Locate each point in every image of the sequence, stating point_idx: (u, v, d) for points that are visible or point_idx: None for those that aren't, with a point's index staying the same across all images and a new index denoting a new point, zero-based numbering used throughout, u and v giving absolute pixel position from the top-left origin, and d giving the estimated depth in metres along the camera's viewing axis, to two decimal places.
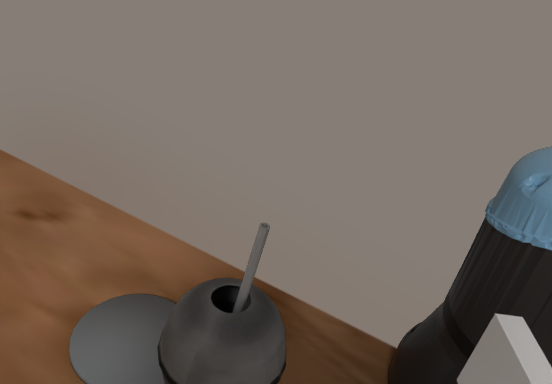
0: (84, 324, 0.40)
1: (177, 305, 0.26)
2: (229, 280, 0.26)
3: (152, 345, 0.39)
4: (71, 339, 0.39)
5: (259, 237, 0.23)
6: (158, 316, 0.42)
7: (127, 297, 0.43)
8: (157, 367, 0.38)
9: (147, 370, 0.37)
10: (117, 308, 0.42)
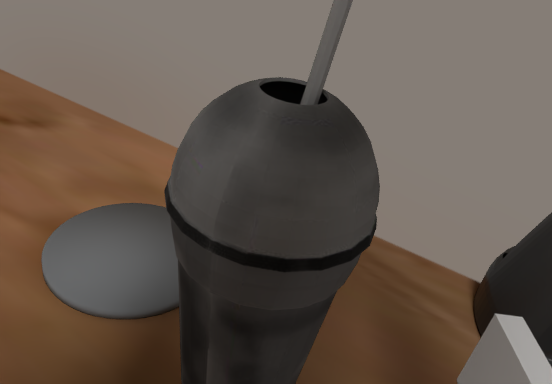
0: (65, 232, 0.30)
1: (199, 113, 0.15)
2: None
3: (156, 260, 0.29)
4: (45, 247, 0.28)
5: None
6: (165, 228, 0.32)
7: (124, 205, 0.33)
8: (162, 285, 0.27)
9: (149, 287, 0.27)
10: (110, 217, 0.32)
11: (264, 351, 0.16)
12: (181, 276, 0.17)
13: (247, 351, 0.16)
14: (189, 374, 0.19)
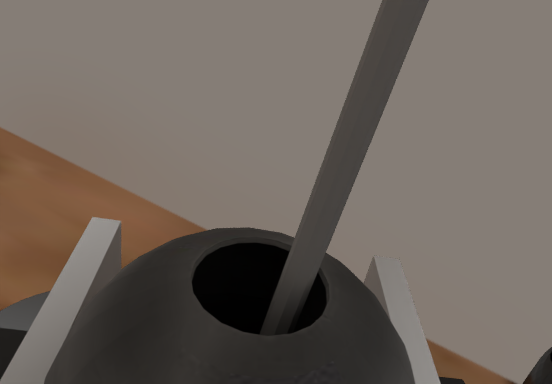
0: None
1: (89, 304, 0.08)
2: (252, 231, 0.09)
3: None
4: None
5: (391, 21, 0.06)
6: None
7: None
8: None
9: None
10: None
11: None
12: None
13: None
14: None
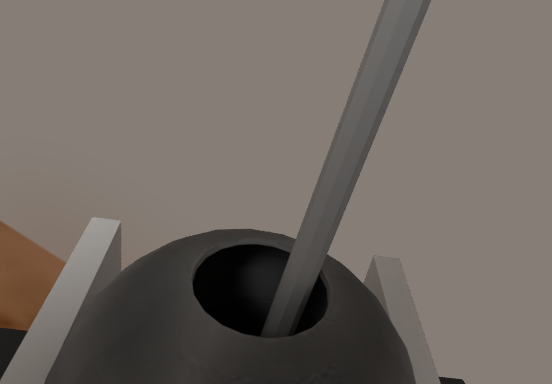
0: None
1: (89, 306, 0.08)
2: (253, 232, 0.09)
3: None
4: None
5: (394, 23, 0.06)
6: None
7: None
8: None
9: None
10: None
11: None
12: None
13: None
14: None
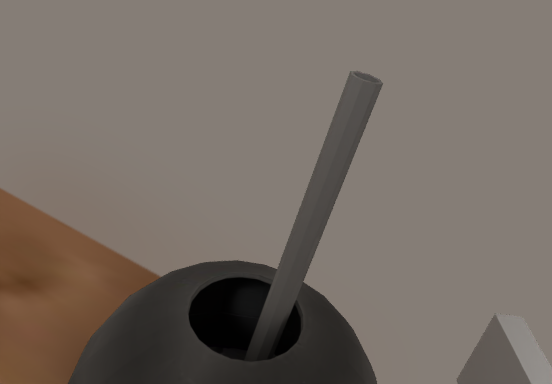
0: None
1: (100, 330, 0.10)
2: (239, 265, 0.10)
3: None
4: None
5: (347, 116, 0.07)
6: None
7: None
8: None
9: None
10: None
11: None
12: None
13: None
14: None
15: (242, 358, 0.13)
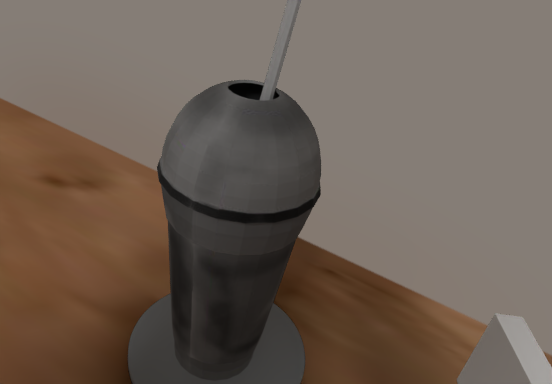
0: (146, 326, 0.28)
1: (183, 107, 0.20)
2: None
3: None
4: (130, 347, 0.26)
5: None
6: None
7: None
8: None
9: None
10: None
11: (235, 291, 0.21)
12: (170, 234, 0.21)
13: (222, 291, 0.21)
14: (178, 316, 0.24)
15: None
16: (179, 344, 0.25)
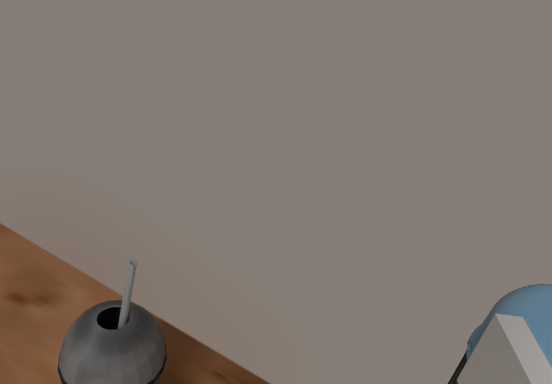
0: None
1: (73, 322, 0.33)
2: (117, 302, 0.33)
3: None
4: None
5: (129, 271, 0.30)
6: None
7: None
8: None
9: None
10: None
11: None
12: None
13: None
14: None
15: None
16: None
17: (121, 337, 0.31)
